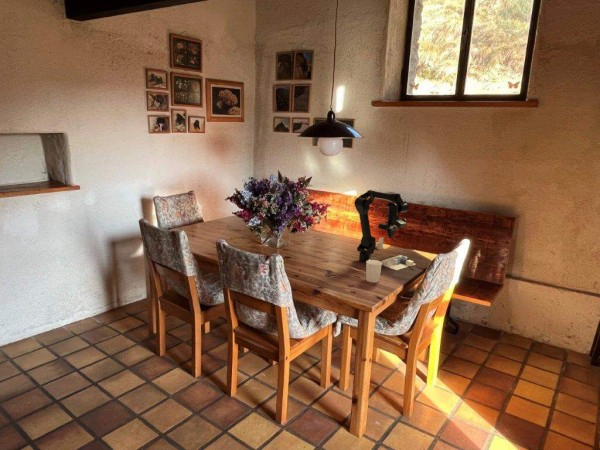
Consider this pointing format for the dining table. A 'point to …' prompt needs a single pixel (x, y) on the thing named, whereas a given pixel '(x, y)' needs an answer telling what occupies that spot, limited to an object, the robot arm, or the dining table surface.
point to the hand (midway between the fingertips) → (390, 238)
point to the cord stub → (406, 261)
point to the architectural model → (380, 243)
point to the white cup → (373, 270)
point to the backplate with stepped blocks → (395, 262)
